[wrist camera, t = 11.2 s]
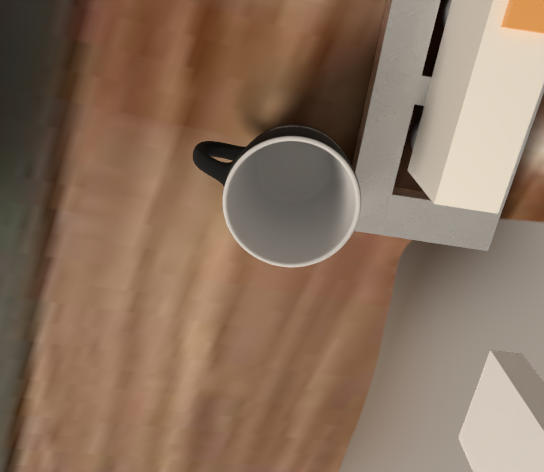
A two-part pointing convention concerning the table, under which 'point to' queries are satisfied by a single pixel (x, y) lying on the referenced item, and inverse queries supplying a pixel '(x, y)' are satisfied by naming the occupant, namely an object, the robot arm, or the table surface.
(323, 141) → the mug
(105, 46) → the table surface
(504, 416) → the robot arm
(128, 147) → the table surface
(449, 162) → the white block
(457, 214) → the rail
